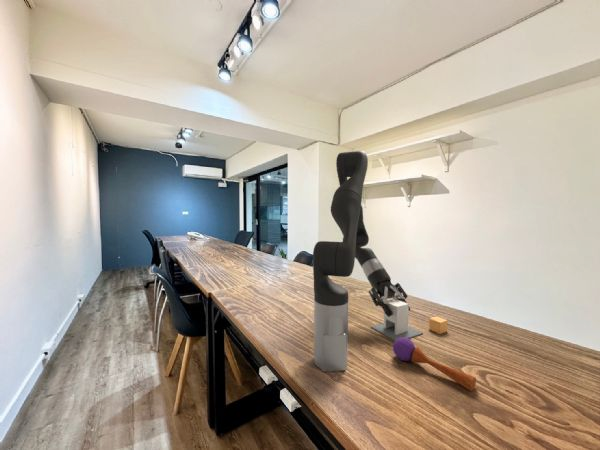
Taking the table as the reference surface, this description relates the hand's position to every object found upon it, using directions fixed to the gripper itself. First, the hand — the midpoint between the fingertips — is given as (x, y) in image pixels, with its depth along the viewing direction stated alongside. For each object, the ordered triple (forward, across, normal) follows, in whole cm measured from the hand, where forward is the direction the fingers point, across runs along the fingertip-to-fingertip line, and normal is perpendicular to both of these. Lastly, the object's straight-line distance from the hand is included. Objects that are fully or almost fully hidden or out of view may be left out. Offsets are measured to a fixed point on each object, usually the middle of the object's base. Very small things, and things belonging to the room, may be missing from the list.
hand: (399, 313), depth 88 cm
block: (+9, +14, +1) cm, 16 cm away
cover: (+3, 0, +5) cm, 6 cm away
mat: (+4, 0, +6) cm, 7 cm away
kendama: (+18, -10, -8) cm, 22 cm away
